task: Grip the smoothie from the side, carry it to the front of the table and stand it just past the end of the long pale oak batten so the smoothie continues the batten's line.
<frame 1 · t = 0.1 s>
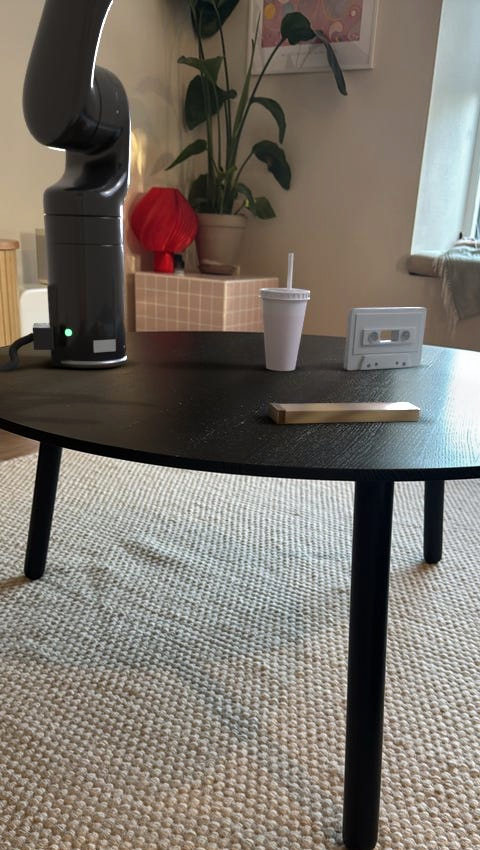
cassette: (382, 369, 100), on the table
batten: (344, 418, 72), on the table
smoothie: (280, 369, 97), on the table
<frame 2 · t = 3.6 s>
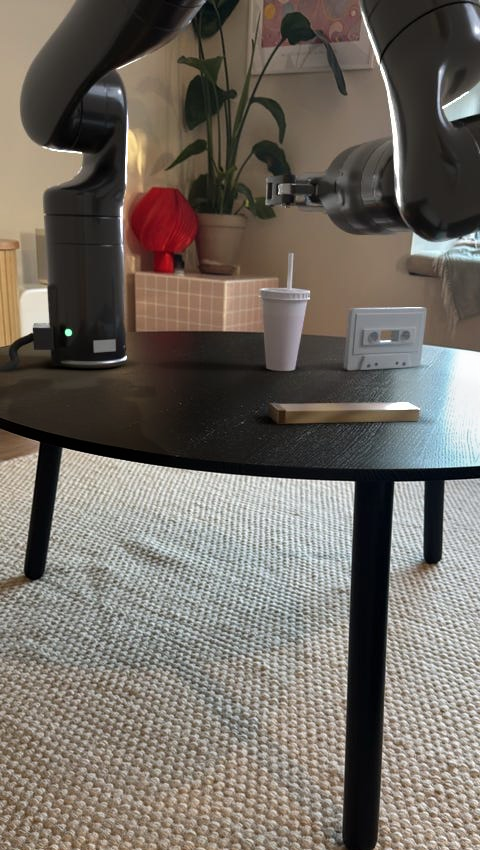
hand: (320, 196, 79), 20 cm above the table, tool horizontal, fingers open, 8 cm apart
nothing on the table moved.
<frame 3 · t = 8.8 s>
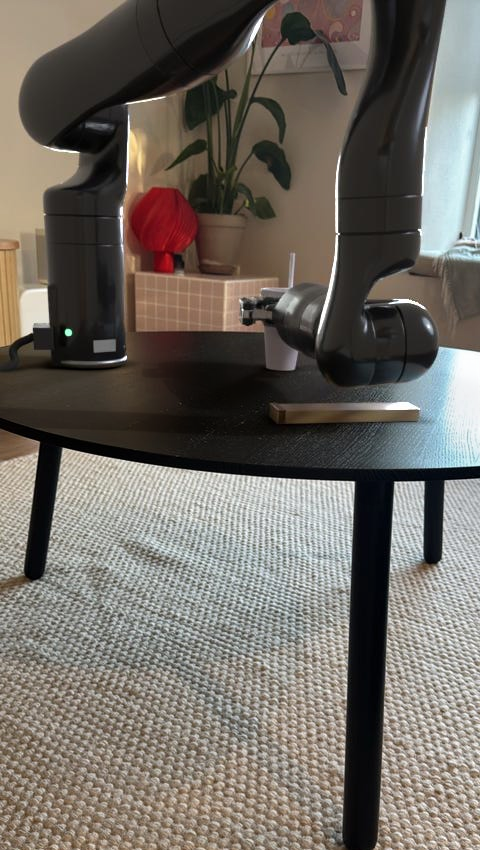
hand: (278, 305, 96), 8 cm above the table, tool horizontal, fingers closed on smoothie, 6 cm apart
smoothie: (280, 369, 97), on the table, touching gripper
everything else where it was.
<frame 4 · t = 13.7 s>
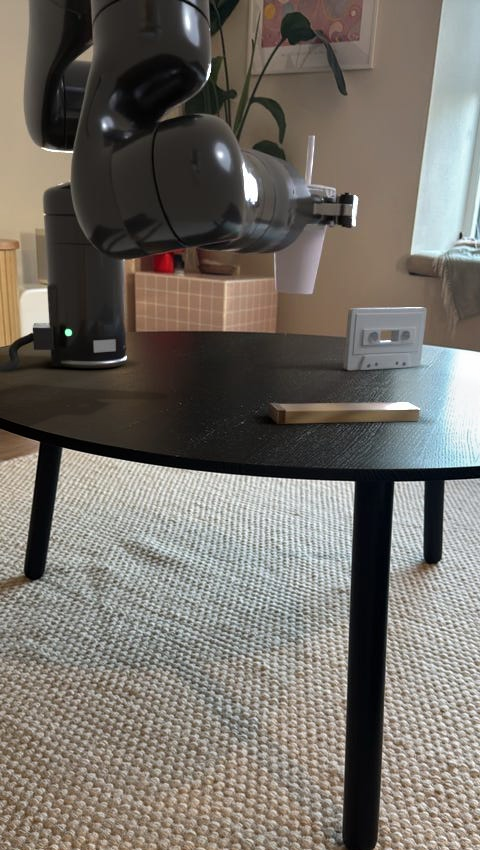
hand: (305, 212, 74), 18 cm above the table, tool horizontal, fingers closed on smoothie, 6 cm apart
smoothie: (293, 294, 75), point 11 cm above the table, touching gripper
everything else where it was.
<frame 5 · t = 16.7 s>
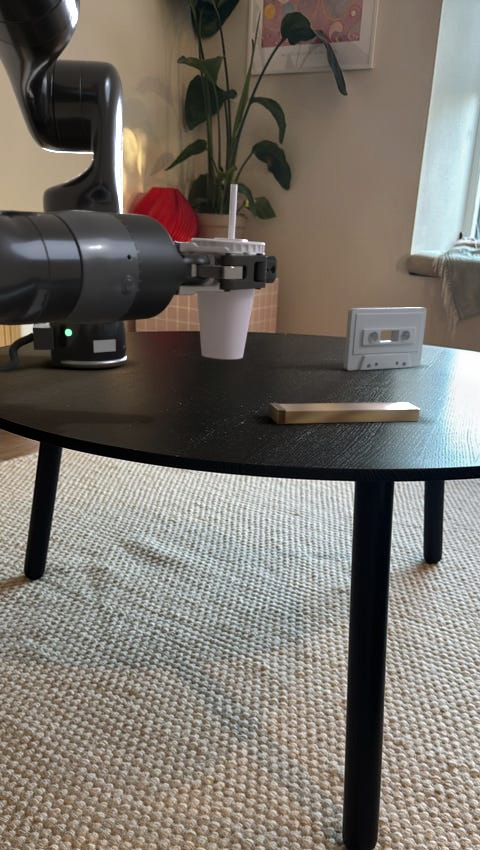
hand: (241, 267, 66), 13 cm above the table, tool horizontal, fingers closed on smoothie, 6 cm apart
smoothie: (222, 358, 67), point 6 cm above the table, touching gripper
everything else where it was.
when the fingers open (8 cm above the table, at t = 19.0 s): smoothie stays where it is, on the table.
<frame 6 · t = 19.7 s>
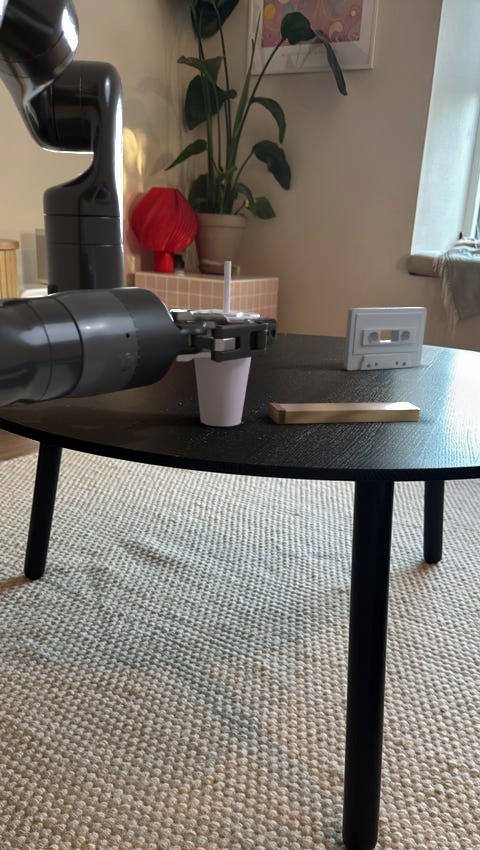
hand: (234, 325, 67), 8 cm above the table, tool horizontal, fingers open, 8 cm apart
smoothie: (220, 423, 69), on the table
everything else where it was.
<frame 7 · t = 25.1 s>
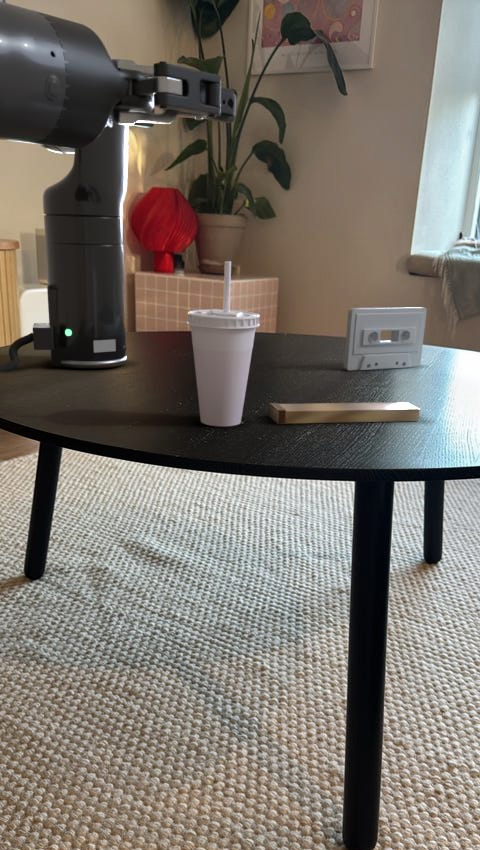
hand: (189, 110, 60), 25 cm above the table, tool horizontal, fingers open, 8 cm apart
nothing on the table moved.
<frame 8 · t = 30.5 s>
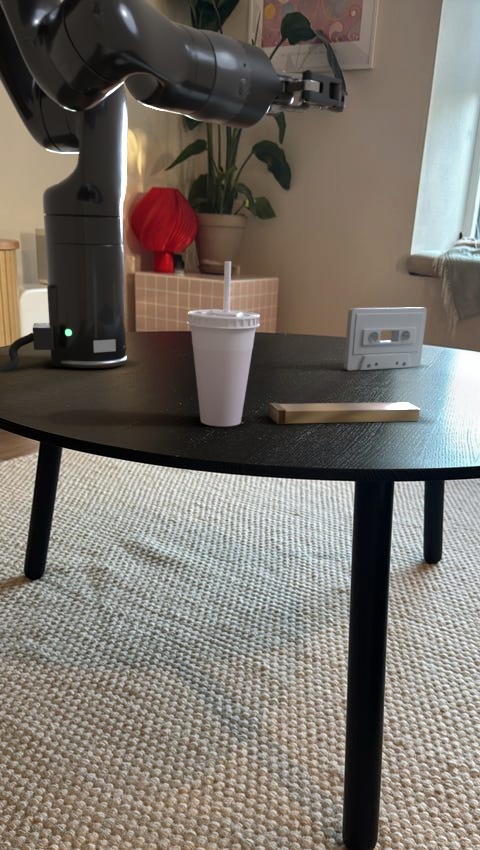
hand: (308, 104, 85), 30 cm above the table, tool horizontal, fingers open, 8 cm apart
nothing on the table moved.
at the end: smoothie 0.1 cm from the target spot on the table beside the batten, on the table; smoothie tilted 0°; the gripper is holding nothing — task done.
